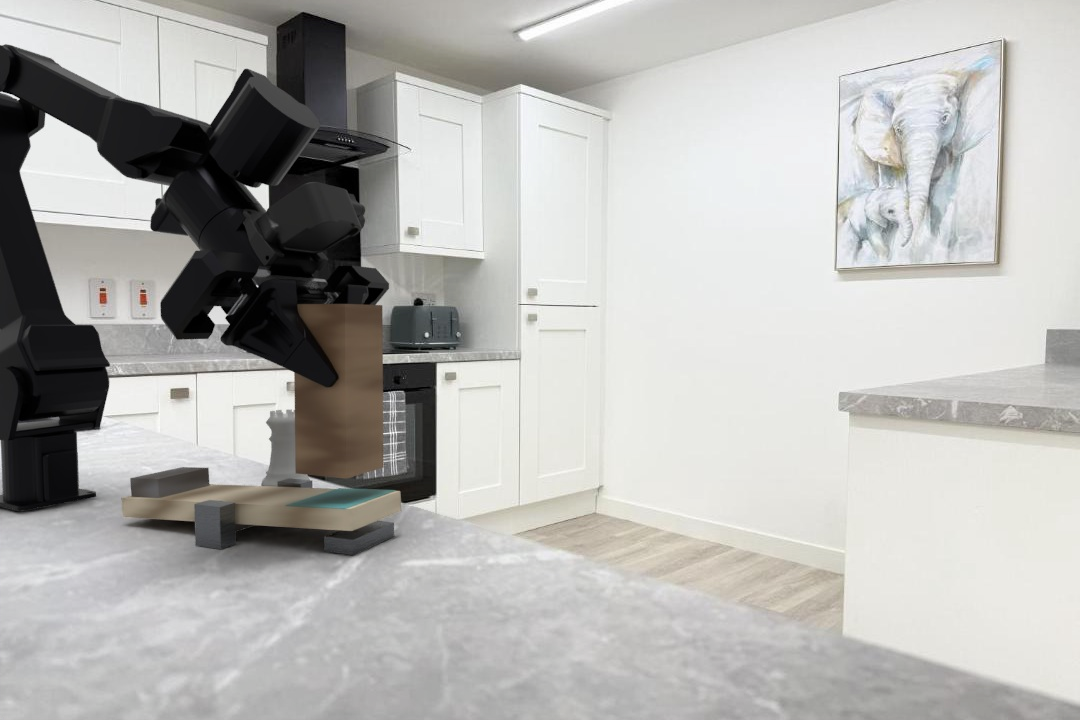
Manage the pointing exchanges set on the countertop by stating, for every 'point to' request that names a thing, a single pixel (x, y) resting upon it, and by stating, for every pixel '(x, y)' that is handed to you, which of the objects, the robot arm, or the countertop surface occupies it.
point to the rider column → (342, 394)
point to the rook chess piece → (282, 448)
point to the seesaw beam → (257, 502)
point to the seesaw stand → (220, 516)
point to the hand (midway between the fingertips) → (355, 380)
